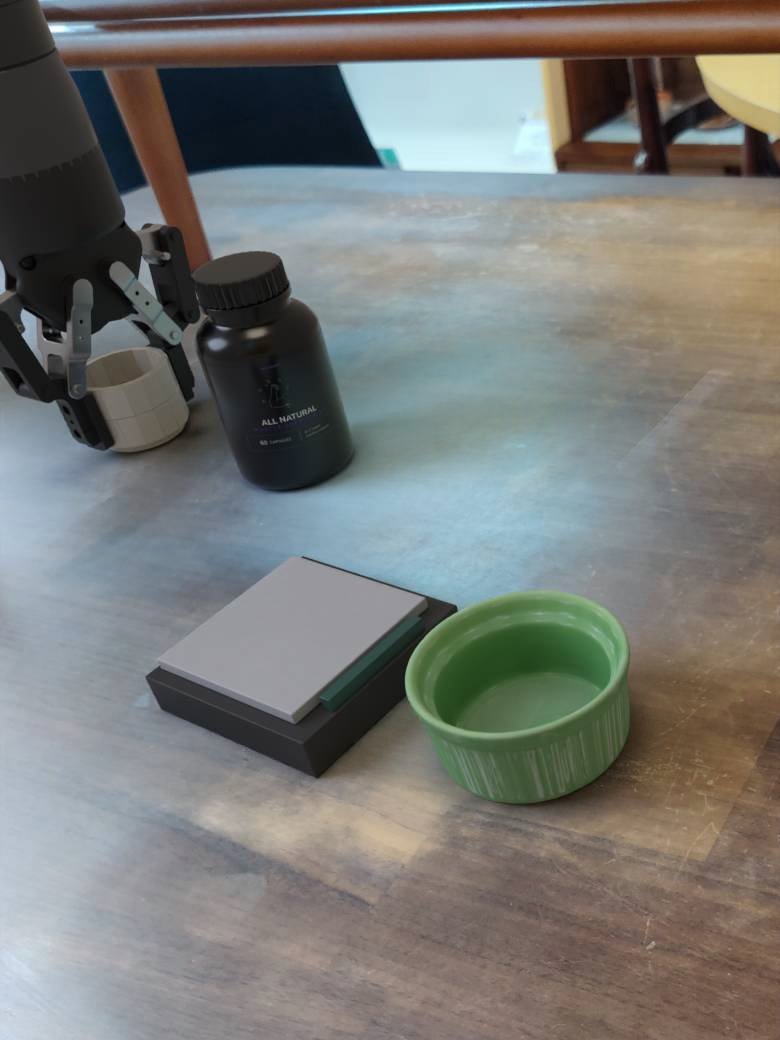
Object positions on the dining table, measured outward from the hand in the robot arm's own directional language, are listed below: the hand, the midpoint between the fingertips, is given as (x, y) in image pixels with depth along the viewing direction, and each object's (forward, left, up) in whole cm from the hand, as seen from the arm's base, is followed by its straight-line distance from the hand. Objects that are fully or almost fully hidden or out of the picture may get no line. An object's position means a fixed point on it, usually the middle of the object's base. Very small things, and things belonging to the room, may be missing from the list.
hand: (142, 421), depth 76 cm
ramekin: (+40, -12, -1) cm, 42 cm away
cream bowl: (0, 0, -1) cm, 1 cm away
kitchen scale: (+28, -13, -1) cm, 31 cm away
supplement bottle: (+13, +1, -1) cm, 13 cm away
